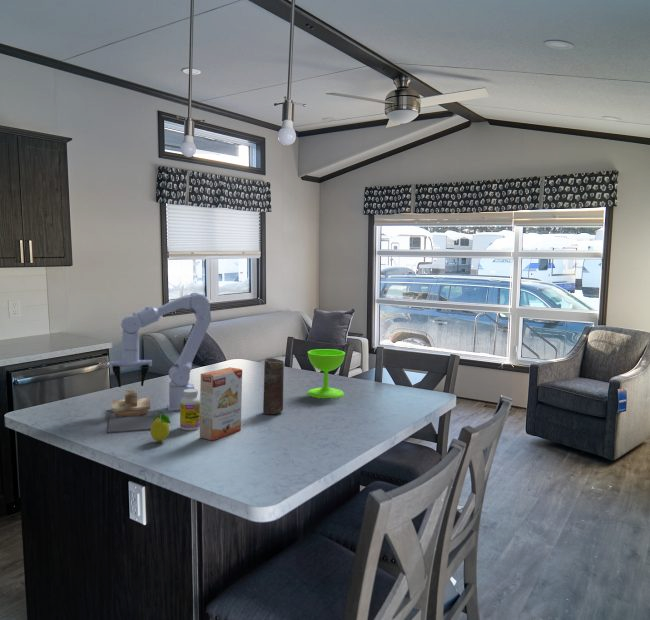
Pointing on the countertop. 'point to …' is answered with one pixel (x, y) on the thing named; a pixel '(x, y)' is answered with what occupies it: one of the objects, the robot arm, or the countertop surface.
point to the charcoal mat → (130, 423)
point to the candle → (273, 386)
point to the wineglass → (326, 370)
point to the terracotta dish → (131, 412)
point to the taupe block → (131, 402)
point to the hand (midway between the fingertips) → (131, 386)
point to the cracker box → (220, 403)
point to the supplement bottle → (190, 410)
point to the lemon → (160, 427)
